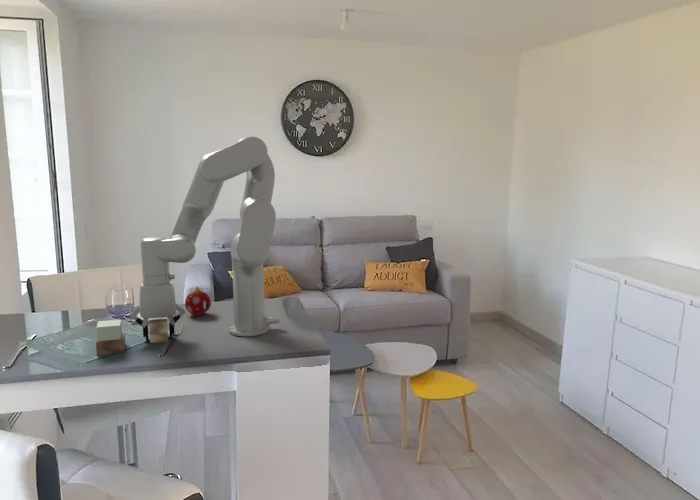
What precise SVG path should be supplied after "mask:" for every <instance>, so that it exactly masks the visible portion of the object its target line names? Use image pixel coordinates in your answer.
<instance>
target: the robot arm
mask: <svg viewBox="0 0 700 500" xmlns="http://www.w3.org/2000/svg"><path fill="white" fill-rule="evenodd" d="M244 173H246V177H245V179H246V181H245V187H244V191H243V196H242V201H241V204H240V209H239V217H240V219H241V225H240V226H241V227H240V232H238V233H237V234H235V236H234V237H233V238H232V240H231V243H230V254H231V265H232V266H231V267H232V296H233V297H232V299H233V324H232V325H230V326H229V327H228V331H229V333H230V334H232V335H233V336H237V337H238V336H239V337H256V336H257V337H258V336H261V335H264V334H267V333H268V332H269V331H270V324H271V325H272V324H274V325H276V324H280V323H281V322H280V317H279V316H278V317H277V316H276V317H275V316H266V315H265V279H264V278H265V273H264V271H265V270H264V263H265V262H266V261H267V259H268V256H269V254H270V251H271V250H270V249H271V246H272V241H273V236H274V231H275V227H276V219H277V218H276V216H277V215H276V211H275V208H274V206H273V205H272V199H273V195H274V194H273V193H274V187H275V181H276V179H275V178H276V174H275V173H276V172H275V167H274V164H273V161H272V158H271V156H270V155H269V154H268V147H267V144H266V143H265V142H264V140H263V139H261V138H260V137H257V136H245V137H243V138H241V139H239V140H238V141H237V142H235V143H232V144H231V145H228V146H227V147H224V148H221V149H219V150H217V151H213V152H210V153H207V154H205V155H203V157H201V159H200V161H199V163H198V165H197V168H196V171H195V173H194V176H193V179H192V181H191V183H190V186H189V189H188V191H187V194H186V195H185V198H184V200H183V203H182V207H181V211H180V213H179V215H178V217H177V220H176V222H175V225H174V228H173V230H172V233H171V235H170V238H169V239H166V238H164V237H161V236H152V237H145V238H143V239H141V242H140V255H141V256H140V257H141V272H142V275H141V276H142V283H140V286H139V293H138V303H139V305H138V306H137V307H135V309H134V310H133V311H132V312H131V313H130V314H129V317H130V318H131V319H132V321H133V320H135V321H136V322H137V323H138V324H137V325H139V326H141V327H142V335H143V338H145V341H150V334H149V324H147V322H148V319H149V318H159V317H162V318H164V317H167V320H168V321H169V323H168V326H169V327H168V329H169V330H168V333H169V338H170V339H173V335H175V326H176V325H175V324H176V323H177V322H178V321H179V320H180V319H181V317H183V316H184V314H185V313H186V310H185V309H184V308H183V307H182V306H180V305H179V304H178V303H177V302H176V294H175V289H174V284H173V282H172V281H171V280H175V277H176V275H175V274H172V273H170V263H175V264H185V263H188V262H190V261H192V260H193V259H194V257H195V256H196V251H197V249H196V246H195V244H196V242H197V239H198V236H199V234H200V231H201V229H202V227H203V225H204V224H205V221H206V220H207V218H209V216H210V215H211V214H212V212H213V211H214V208H215V205H216V204H217V201H218V198H219V195H220V192H221V191H222V188H223V186H224V182H226V181H228V180H230V179H233V178H236V177H238V176H240V175H242V174H244ZM176 310H177V311H178V313H177V314H176V312H177V311H176ZM139 313H140V316H141V317H142V318H143V320H142V319H141V318H139V317H138V316H137V315H138V314H139Z"/></svg>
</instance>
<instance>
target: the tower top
mask: <svg viewBox="0 0 700 500" xmlns="http://www.w3.org/2000/svg"><path fill="white" fill-rule="evenodd" d="M95 328H96V340H97V341H107V340H118V339H121V335H122V332H123V331H122V328H123V327H122V319H111V320H99V321H97V324H96V327H95Z"/></svg>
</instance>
